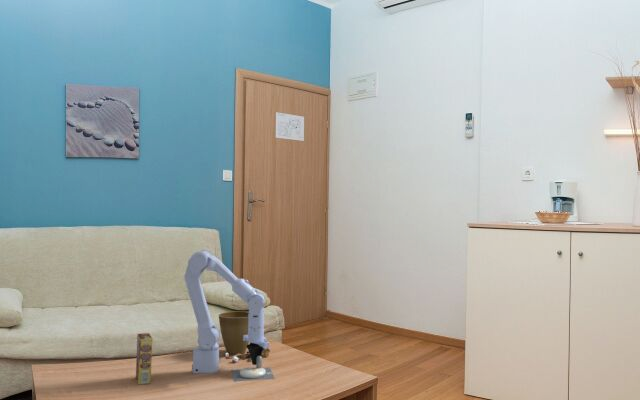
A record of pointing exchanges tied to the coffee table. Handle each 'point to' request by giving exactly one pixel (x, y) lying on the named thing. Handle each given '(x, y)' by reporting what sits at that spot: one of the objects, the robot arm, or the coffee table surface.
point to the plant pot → (234, 331)
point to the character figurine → (247, 356)
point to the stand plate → (238, 378)
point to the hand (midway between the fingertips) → (255, 364)
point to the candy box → (144, 358)
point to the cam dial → (254, 370)
